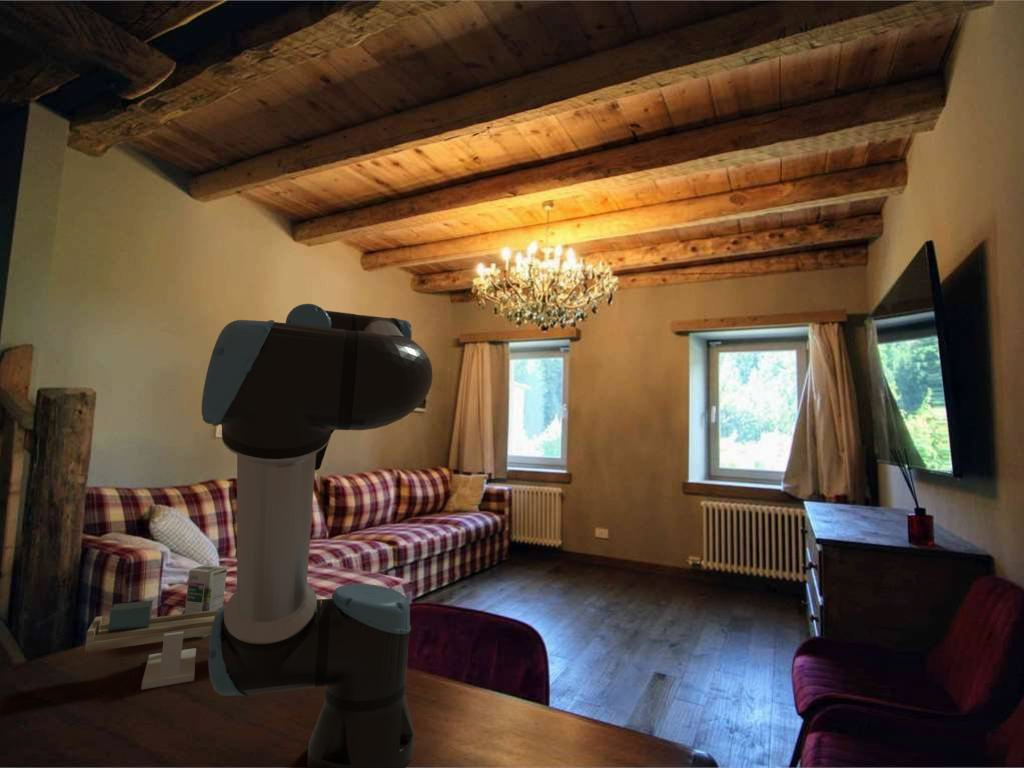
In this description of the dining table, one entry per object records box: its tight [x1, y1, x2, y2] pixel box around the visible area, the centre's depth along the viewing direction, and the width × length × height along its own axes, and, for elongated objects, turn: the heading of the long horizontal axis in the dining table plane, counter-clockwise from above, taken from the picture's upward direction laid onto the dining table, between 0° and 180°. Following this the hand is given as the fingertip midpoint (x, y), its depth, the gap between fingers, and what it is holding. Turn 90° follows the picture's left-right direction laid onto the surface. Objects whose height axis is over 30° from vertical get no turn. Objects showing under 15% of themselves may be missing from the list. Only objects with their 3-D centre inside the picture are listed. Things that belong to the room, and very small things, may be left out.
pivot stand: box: [141, 631, 197, 691], centre depth 99 cm, size 13×8×9 cm, turn 31°
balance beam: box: [84, 610, 218, 653], centre depth 99 cm, size 9×26×6 cm, turn 121°
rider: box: [108, 600, 153, 633], centre depth 96 cm, size 4×6×4 cm, turn 120°
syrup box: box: [184, 564, 228, 639], centre depth 118 cm, size 6×6×14 cm
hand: (295, 506), depth 99 cm, fingers closed
